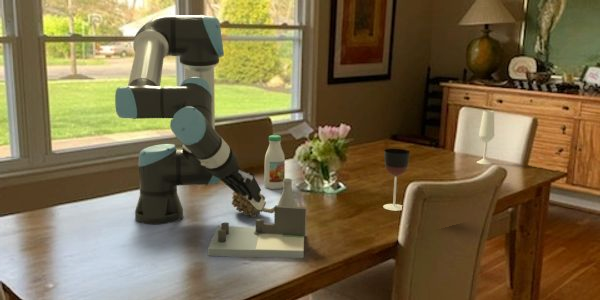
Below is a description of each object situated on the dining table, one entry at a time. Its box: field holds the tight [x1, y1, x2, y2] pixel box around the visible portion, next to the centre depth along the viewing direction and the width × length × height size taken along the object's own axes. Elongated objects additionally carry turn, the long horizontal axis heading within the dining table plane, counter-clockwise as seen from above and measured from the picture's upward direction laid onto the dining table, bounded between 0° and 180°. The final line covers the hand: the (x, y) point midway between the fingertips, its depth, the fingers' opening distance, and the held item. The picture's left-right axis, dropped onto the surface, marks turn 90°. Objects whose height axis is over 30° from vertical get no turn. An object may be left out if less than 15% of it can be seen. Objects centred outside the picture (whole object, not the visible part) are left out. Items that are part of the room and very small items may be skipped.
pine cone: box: [231, 191, 274, 218], centre depth 194 cm, size 22×10×10 cm, turn 44°
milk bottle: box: [263, 134, 286, 190], centre depth 228 cm, size 8×8×20 cm
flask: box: [277, 177, 298, 207], centre depth 204 cm, size 7×7×10 cm
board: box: [207, 221, 305, 259], centre depth 171 cm, size 26×18×5 cm
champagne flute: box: [476, 110, 495, 165], centre depth 273 cm, size 7×7×24 cm
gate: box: [255, 204, 307, 237], centre depth 173 cm, size 15×2×8 cm, turn 81°
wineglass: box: [382, 148, 411, 212], centre depth 206 cm, size 8×9×20 cm
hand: (261, 205), depth 160 cm, fingers closed
